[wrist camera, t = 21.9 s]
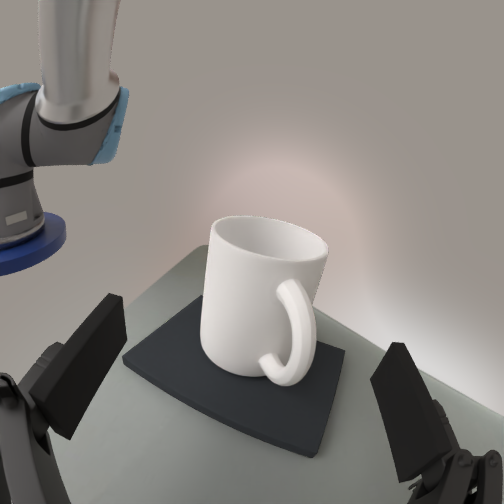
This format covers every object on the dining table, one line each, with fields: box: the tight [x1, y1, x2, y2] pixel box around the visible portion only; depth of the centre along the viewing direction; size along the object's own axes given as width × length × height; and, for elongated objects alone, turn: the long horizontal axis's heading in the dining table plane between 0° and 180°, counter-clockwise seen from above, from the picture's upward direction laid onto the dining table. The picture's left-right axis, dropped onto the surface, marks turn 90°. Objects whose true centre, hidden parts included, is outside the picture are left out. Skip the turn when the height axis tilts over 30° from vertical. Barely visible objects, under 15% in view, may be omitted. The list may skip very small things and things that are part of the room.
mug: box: [200, 215, 329, 386], centre depth 19 cm, size 12×8×10 cm
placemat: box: [122, 295, 345, 458], centre depth 22 cm, size 16×12×1 cm
